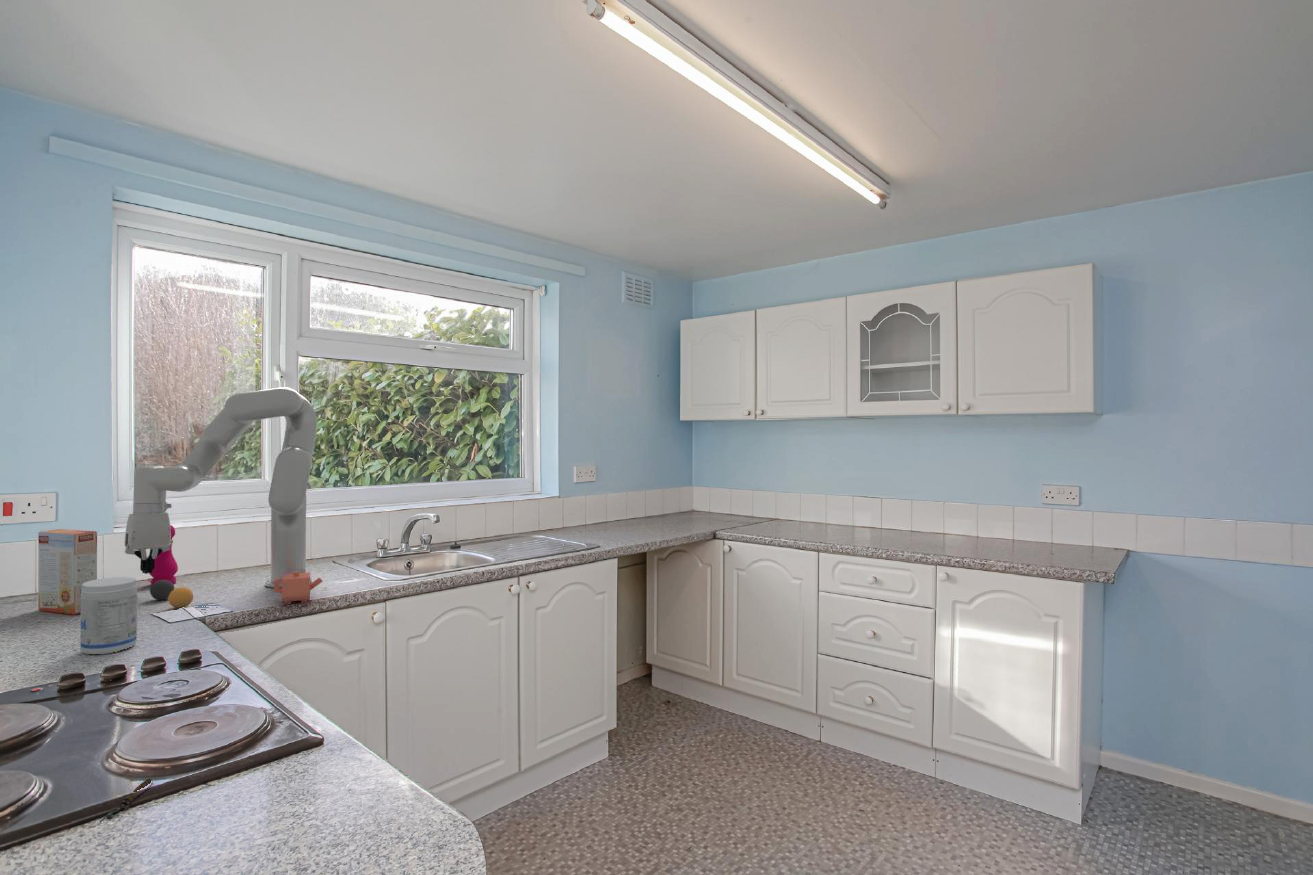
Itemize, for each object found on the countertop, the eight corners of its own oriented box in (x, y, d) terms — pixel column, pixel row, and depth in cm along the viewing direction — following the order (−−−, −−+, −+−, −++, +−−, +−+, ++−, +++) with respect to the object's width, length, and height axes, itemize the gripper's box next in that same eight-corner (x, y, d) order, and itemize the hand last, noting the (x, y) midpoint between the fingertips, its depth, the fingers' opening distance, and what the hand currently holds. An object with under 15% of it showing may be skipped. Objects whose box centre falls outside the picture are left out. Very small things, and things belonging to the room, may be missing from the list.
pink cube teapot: (322, 602, 189) (322, 572, 189) (273, 606, 184) (273, 576, 184) (322, 595, 196) (322, 567, 196) (275, 600, 191) (275, 570, 191)
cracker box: (99, 610, 179) (98, 530, 179) (72, 615, 174) (72, 533, 174) (63, 605, 184) (63, 527, 184) (37, 611, 178) (36, 530, 178)
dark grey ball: (177, 599, 191) (177, 579, 191) (153, 603, 186) (153, 583, 186) (170, 596, 194) (170, 577, 194) (147, 600, 190) (147, 580, 190)
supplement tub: (76, 649, 147) (75, 581, 147) (130, 639, 154) (130, 574, 154) (86, 659, 141) (86, 588, 141) (142, 648, 148) (142, 580, 148)
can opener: (145, 786, 91) (144, 778, 91) (162, 786, 92) (162, 777, 92) (92, 826, 82) (92, 816, 82) (112, 825, 83) (112, 816, 83)
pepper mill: (183, 581, 213) (183, 517, 213) (164, 587, 206) (164, 520, 205) (162, 581, 214) (162, 517, 213) (142, 586, 206) (142, 520, 206)
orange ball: (196, 607, 182) (196, 586, 182) (172, 611, 178) (172, 590, 178) (188, 604, 186) (188, 584, 186) (165, 608, 181) (164, 587, 181)
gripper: (175, 506, 204) (173, 567, 204) (113, 509, 192) (110, 574, 192) (184, 508, 199) (182, 571, 199) (121, 511, 188) (119, 578, 188)
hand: (147, 572), depth 196 cm, fingers closed
